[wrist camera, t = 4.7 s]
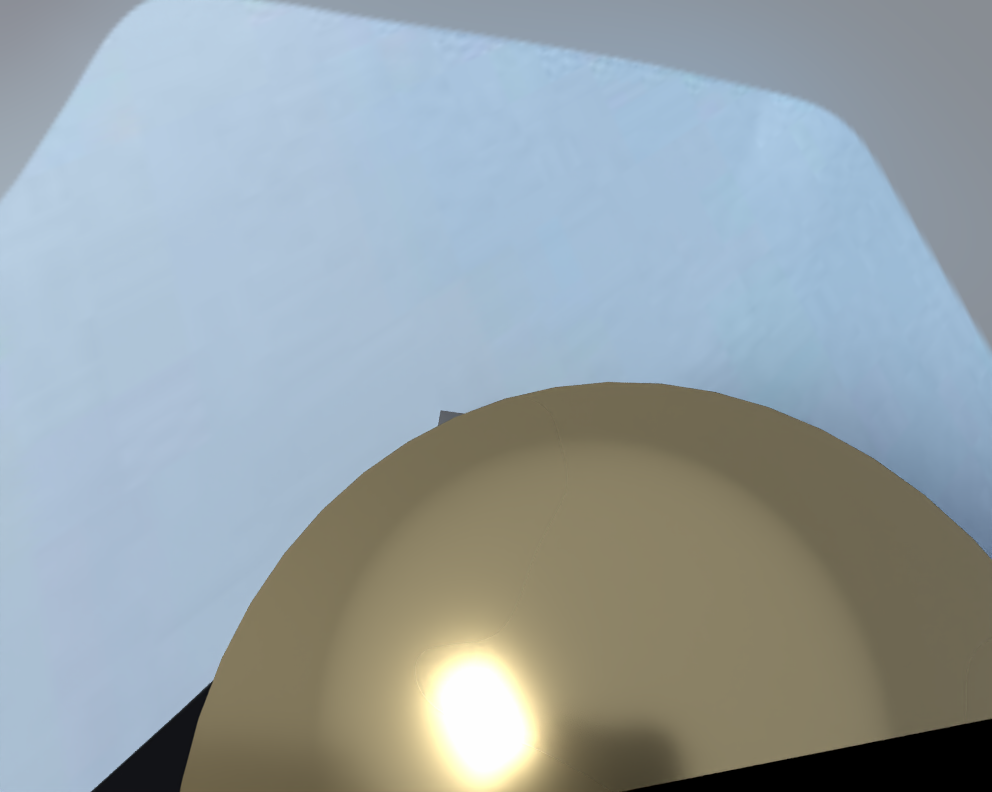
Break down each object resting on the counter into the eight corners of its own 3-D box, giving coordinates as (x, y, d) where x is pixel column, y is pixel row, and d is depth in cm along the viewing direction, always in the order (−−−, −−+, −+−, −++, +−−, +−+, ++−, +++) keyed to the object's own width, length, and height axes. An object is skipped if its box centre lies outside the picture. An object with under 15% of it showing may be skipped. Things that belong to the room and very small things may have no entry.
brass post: (613, 579, 14) (1419, 1353, 2) (486, 618, 14) (263, 1755, 2) (571, 452, 15) (884, 286, 2) (451, 488, 15) (113, 514, 2)
